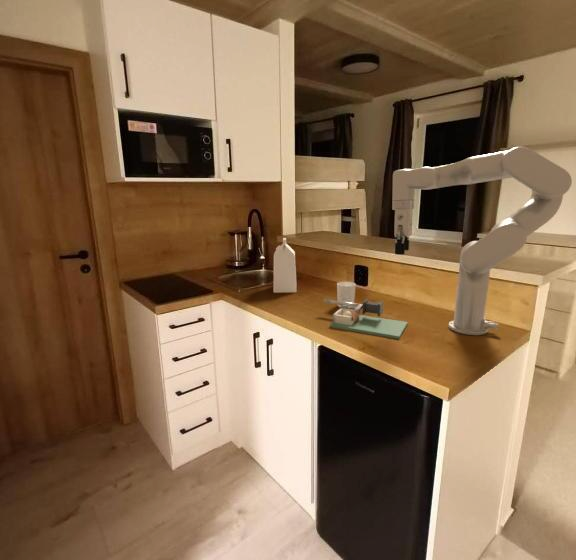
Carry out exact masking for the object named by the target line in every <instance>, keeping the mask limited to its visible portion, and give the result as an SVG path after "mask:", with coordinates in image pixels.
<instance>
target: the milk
mask: <svg viewBox="0 0 576 560" xmlns="http://www.w3.org/2000/svg"><path fill="white" fill-rule="evenodd" d="M296 268H297V266H296V251H295V250H294V249H292V247H291V246H290V245H289V244H288V243H287V237H283V238H282V244H281V245H278V246H277V247H276V248H275V250H274V253H273V284H272V285H273V287H272V289H273V291H272V292H273V293H280V294H281V293H297V292H298V291H297V269H296Z"/></svg>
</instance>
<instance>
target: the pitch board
mask: <svg viewBox="0 0 576 560" xmlns="http://www.w3.org/2000/svg"><path fill="white" fill-rule="evenodd" d="M341 308H345V309H352V310H355V308H356V307H353V306H351V307H350V308H348V306H346V305H342V306H341ZM408 322H409V321H404V320H396V319H391V318H383V317H378V316H377V317H376V316H371V315H370V316H369V315H365V314H359V321H358V322H357V323H356V322H353V318H352V321H351V325H346V324H340V323H334V322H333V321H331V323H330V324H329V328H333V329H339V330H345V331H351V332H356V333H363V334H367V335H374V336H380V337H386V338H390V339H391V338H392V339H396V340H400V339H401V337H402V335H403V333H404V331H405V330H406V328H407V326H408Z"/></svg>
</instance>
